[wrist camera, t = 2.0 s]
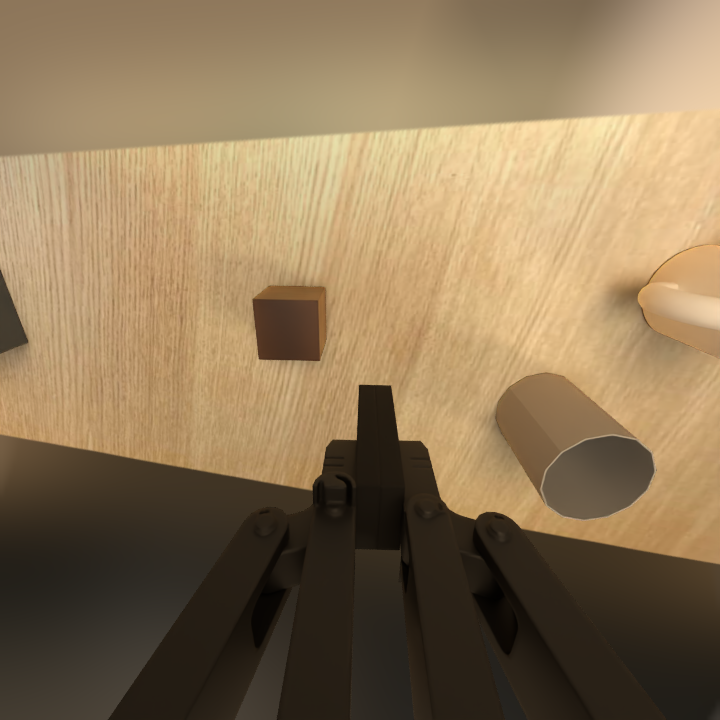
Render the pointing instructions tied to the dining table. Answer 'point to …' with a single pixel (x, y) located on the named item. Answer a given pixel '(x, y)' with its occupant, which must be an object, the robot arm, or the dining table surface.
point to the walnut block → (290, 322)
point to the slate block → (9, 322)
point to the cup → (573, 449)
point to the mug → (686, 299)
